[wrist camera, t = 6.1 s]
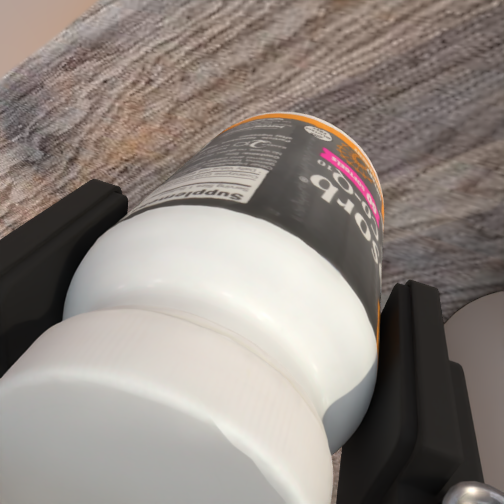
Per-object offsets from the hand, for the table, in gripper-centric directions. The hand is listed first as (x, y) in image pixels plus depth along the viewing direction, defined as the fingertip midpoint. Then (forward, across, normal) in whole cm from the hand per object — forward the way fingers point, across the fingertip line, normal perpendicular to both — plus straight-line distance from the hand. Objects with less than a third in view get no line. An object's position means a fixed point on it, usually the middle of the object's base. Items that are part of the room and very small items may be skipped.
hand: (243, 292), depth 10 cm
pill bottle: (+5, 0, 0) cm, 5 cm away
